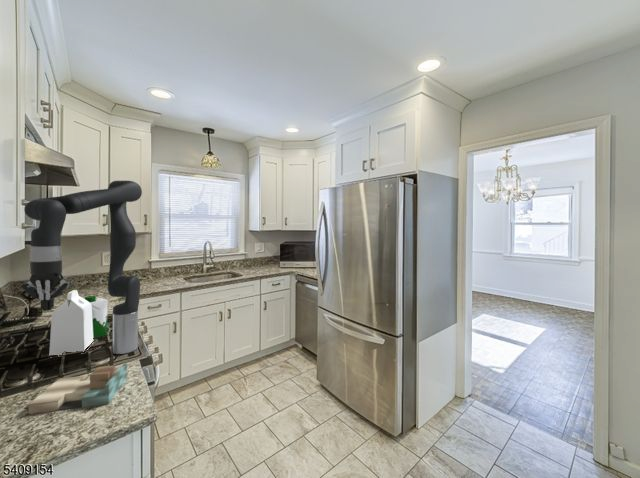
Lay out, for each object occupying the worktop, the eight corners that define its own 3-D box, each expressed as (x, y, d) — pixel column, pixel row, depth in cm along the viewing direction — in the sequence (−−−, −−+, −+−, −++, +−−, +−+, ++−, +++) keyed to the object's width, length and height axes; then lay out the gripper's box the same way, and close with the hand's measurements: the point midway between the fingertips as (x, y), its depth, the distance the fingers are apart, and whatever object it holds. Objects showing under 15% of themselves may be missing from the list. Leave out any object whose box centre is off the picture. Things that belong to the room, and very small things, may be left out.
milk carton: (80, 336, 134) (80, 296, 133) (102, 331, 142) (102, 293, 141) (88, 341, 130) (88, 299, 129) (110, 334, 137) (110, 295, 137)
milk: (61, 345, 124) (61, 289, 123) (93, 342, 129) (93, 287, 128) (49, 357, 113) (48, 295, 112) (84, 353, 118) (84, 293, 117)
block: (98, 381, 92) (98, 367, 92) (115, 379, 93) (115, 365, 93) (90, 390, 87) (90, 374, 87) (108, 388, 89) (108, 373, 88)
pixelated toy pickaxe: (59, 386, 93) (59, 369, 93) (126, 379, 99) (126, 363, 99) (28, 414, 80) (28, 394, 80) (108, 403, 85) (108, 385, 85)
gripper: (76, 257, 97) (77, 306, 97) (29, 258, 93) (30, 308, 94) (63, 260, 89) (64, 312, 90) (12, 260, 86) (13, 315, 86)
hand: (47, 310), depth 92 cm, fingers closed
